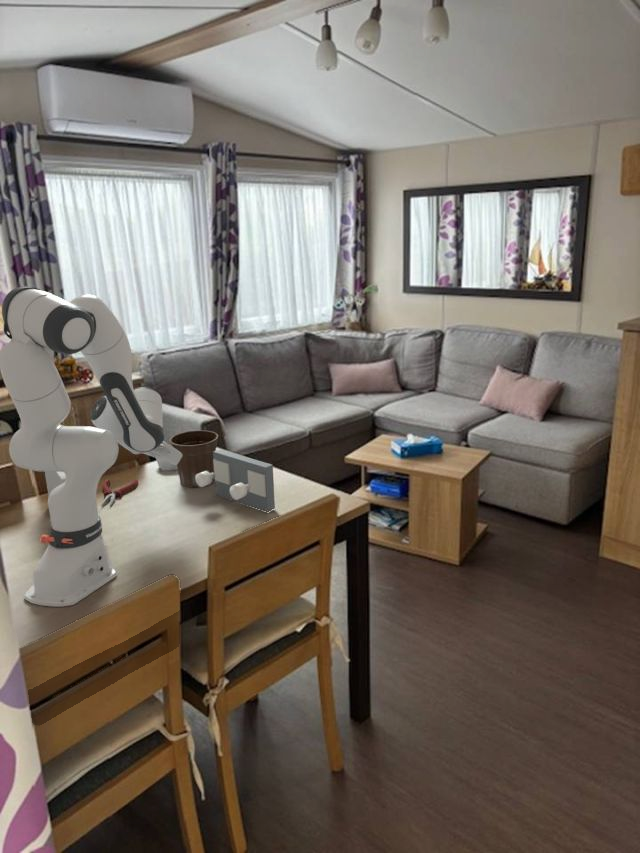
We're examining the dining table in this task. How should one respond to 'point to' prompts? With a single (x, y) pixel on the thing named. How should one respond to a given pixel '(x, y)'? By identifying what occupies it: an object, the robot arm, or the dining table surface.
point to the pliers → (116, 491)
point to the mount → (244, 479)
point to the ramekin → (166, 465)
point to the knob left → (204, 478)
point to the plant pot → (195, 454)
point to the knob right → (239, 490)
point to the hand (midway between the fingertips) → (170, 460)
